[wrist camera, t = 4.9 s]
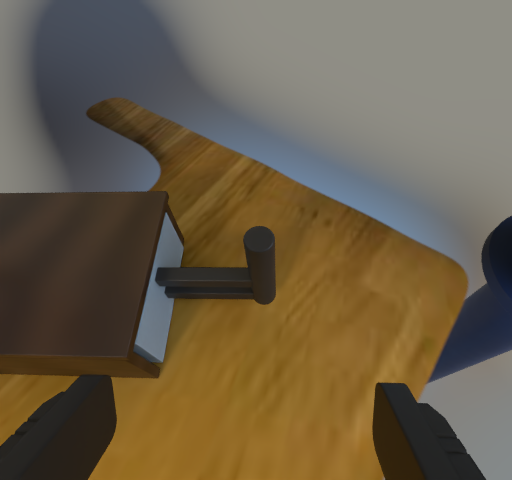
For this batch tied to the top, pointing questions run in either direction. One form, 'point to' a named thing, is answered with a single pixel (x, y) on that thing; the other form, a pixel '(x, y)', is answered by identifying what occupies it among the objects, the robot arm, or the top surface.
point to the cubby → (77, 280)
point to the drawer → (200, 284)
